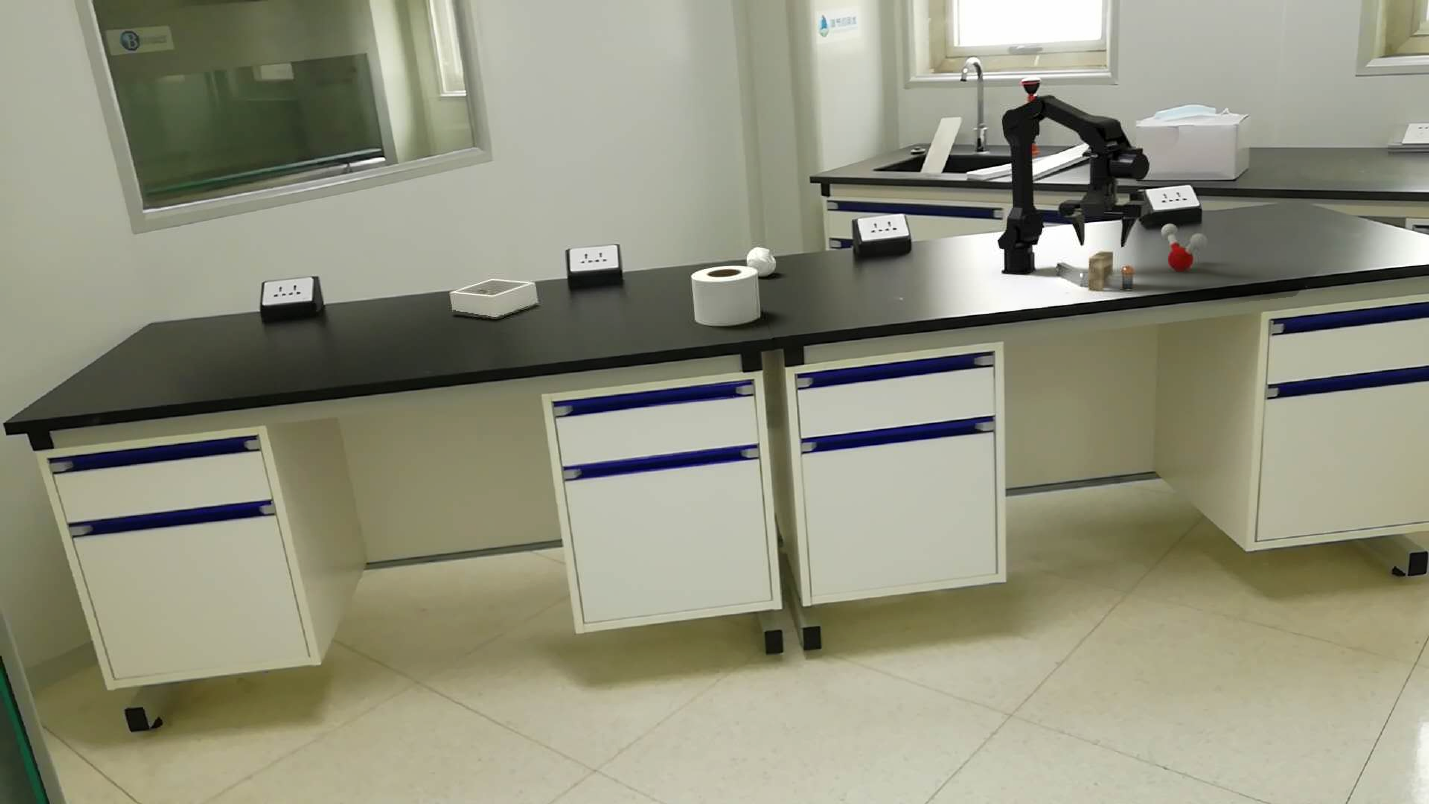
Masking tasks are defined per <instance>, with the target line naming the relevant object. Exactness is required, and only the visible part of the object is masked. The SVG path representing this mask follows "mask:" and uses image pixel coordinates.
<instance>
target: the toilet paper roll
mask: <svg viewBox="0 0 1429 804" xmlns="http://www.w3.org/2000/svg"><path fill="white" fill-rule="evenodd" d="M690 277H691V288H692V298H693V300H692V301H693V308H694V310H693V311H694V320H695V322H696V323H697V324H699V325H704V326H711V327H729V326H738V325H743V324H747V323H751V322H753V321H755V320H757V319H760V317H761V304H760V290H759V289H760V288H759V287H760V286H759V276H758V272H757V270H756V269H754V268H751V267H748V266H745V265H744V266H743V265H728V266H727V265H726V266H725V265H724V266H715V267H710V268H705V269H701V270H698V271H696V272H694V273H693V274H691V276H690Z"/></svg>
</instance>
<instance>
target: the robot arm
mask: <svg viewBox="0 0 1429 804" xmlns="http://www.w3.org/2000/svg"><path fill="white" fill-rule="evenodd" d="M1046 118H1047V119H1048V120H1051V121H1053V122H1055V123H1057V124H1059V125H1061V126H1064V128H1067V129H1068V130H1071V131H1073V132H1075V133H1077V135H1078V137H1079V138H1080V140H1081V141H1082V142H1083V143H1085V144H1086V145H1088V148H1087V149H1086V150H1085V151H1083V153H1081V156H1082V157H1086V158H1089V182H1088V183H1087V191H1086V193H1085V194H1084V196H1083V197H1082V199H1067V200H1065V201H1063V202H1060V204H1059V205H1058V208H1057V209H1058V210H1057V216H1060V217H1063V218H1064V220H1068V221H1069V222H1070V224H1071V225H1072V227H1073V229H1074V231H1075V233H1076V237H1077V239H1078V242H1079V245H1080V246H1081V247H1082V246H1084V245H1085V240H1086V239H1085V238H1086V236H1085V235H1086V232H1085V231H1086V230H1085V229H1086V228H1085V227H1086V226H1085V225H1086V224H1085V223H1086V218H1085V217H1088V216H1092V217H1093V216H1094V217H1101V216H1103V215H1104V214H1105V213H1106V214H1108V213H1109V214H1111V213H1112V214H1122V215H1123V216H1124V217H1122V218H1121V219H1120V221H1121V224H1122V225H1121V235H1120V236H1121V237H1120V248H1124V247H1125V246H1126V243H1127V240H1128V238H1129V236H1130V234H1131V231H1132V229H1133V227H1134V224H1135V223H1136V221H1138V220H1140V219H1141V218H1142V217H1144V216H1146V215H1148V214H1149V204H1148V201H1146V200H1130V201H1128V202H1126V203H1123V204H1117V203H1118V202H1119V201H1118V199H1119V198H1117V185H1119V179H1120V180H1129V181H1130V180H1131V181H1142V180H1144V179H1145V178H1146V177H1147V175H1148V173H1149V171H1150V164H1151V163H1150V161H1149V158H1148V157H1147V155H1146V154H1144V148H1142V147H1136V148H1133V146H1132V144H1131V142H1130V141H1129V139H1128V137H1127V135H1126V134H1125V132H1124V130H1123V128H1122V126H1121V125H1122V124H1121V122H1120V121H1119V120H1118V119H1116V118H1113V117H1109V116H1104V115H1102V116H1101V115H1094V114H1089V113H1088V112H1085V111H1083V110H1082V109H1079V108H1077V107H1075V106H1073V105H1071V104H1068V103H1066V102H1064V101H1063V100H1060V99H1058V98H1057V97H1056V96H1055V95H1052V94H1046V95H1045V94H1044V95H1040V96H1036V97H1035V98H1033V99H1031V100H1030V101H1029V102H1027V103H1025V104H1022V105H1020V106H1018V107H1016V108H1011V109H1008V110H1007V111H1005V113H1004V114H1003V115H1002V117H1001V127H1002V132H1003V137H1004V139H1005V140H1006V142H1007V144H1008V145H1009V147H1010V160H1011V162H1010V163H1011V164H1010V165H1011V169H1010V170H1011V189H1012V190H1011V192H1012V207H1011V209H1010V211H1009V214H1008V216H1007V218H1006V226H1005V230H1004V232H1003V233H1002V234H1001V236H999V238H998V239H997V246H998V248H999V250H1003V267H1004V268H1003V269H1002V270H1001V273H1002V274H1012V275H1013V274H1015V275H1027V274H1029V273H1031V272H1033V271H1035V270H1036V266H1035V262H1036V261H1035V260H1036V259H1035V258H1036V256H1035V254H1036V253H1035V252H1034V251H1033V250H1034V249H1033V248H1034V247H1033V246H1038V243H1039V240H1040V236H1042V234H1043V229H1045V225H1044V212H1043V211H1038V209H1037V208H1036V206H1035V204H1034V203H1035V201H1034V199H1035V197H1034V174H1033V173H1034V171H1033V170H1034V169H1033V168H1034V167H1033V144H1034V141H1035V140H1036V138H1037V135H1038V133H1039V127H1040V126H1039V124H1040V122H1043V120H1045V119H1046Z"/></svg>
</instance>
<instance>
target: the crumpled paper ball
mask: <svg viewBox="0 0 1429 804" xmlns="http://www.w3.org/2000/svg"><path fill="white" fill-rule="evenodd" d="M776 266H777V261H776V259H775V258H774V256H773V255H772V254H771V253H770V250H769V249H767V248H764V247H754V248H753V249H751V250H750V251H749V253H747V257H746V267H751V268H754V269H756V270H757V272H758V277H767V276H769V275H770V274H771V275H772V273H773V272H774V271H775V269H776Z"/></svg>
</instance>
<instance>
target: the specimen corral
mask: <svg viewBox="0 0 1429 804" xmlns="http://www.w3.org/2000/svg"><path fill="white" fill-rule="evenodd" d="M480 288H482V289H485V290H487V291H496V292H501V293H499V294H496V295H483V294H477V292H478V289H480ZM486 288H487V289H486ZM449 296H450V297H449V298H450V303H451V308H452V309H451V310H452V311H453V310H456V311H460V312H468V313H474V314H479V315H487V316H491V317H498V316H500V315H504V314H507V313H509V312H513V311H515V310H517V309H521V308H524V307H526V306H530V305H533V304H535V303H538V304H539V300H538V293H537V288H536V282H531V281H521V280H509V279H508V280H507V279H498V278H497V279H496V278H492V279H488V280H485V281H481V282H479V283H475V284H471V285H469V286H465V287H463V288H459V289H455V290H454V291H450V292H449Z"/></svg>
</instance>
